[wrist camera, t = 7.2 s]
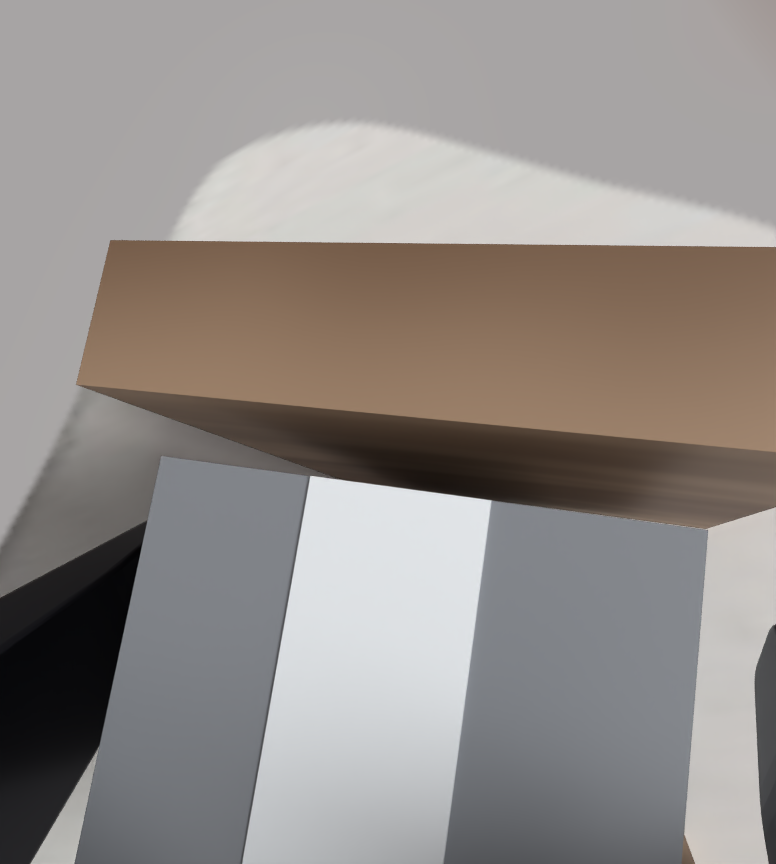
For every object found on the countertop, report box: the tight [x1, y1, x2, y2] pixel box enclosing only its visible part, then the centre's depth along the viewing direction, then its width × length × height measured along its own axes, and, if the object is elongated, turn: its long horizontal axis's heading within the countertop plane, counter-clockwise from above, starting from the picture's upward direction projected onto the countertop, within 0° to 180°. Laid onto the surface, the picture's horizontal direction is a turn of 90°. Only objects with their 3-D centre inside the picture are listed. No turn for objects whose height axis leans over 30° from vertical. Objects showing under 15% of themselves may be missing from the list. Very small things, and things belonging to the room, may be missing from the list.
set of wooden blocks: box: [76, 240, 776, 864], centre depth 11 cm, size 10×9×10 cm
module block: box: [75, 456, 708, 864], centre depth 11 cm, size 5×6×10 cm
